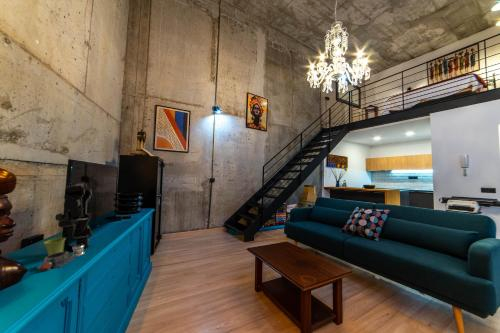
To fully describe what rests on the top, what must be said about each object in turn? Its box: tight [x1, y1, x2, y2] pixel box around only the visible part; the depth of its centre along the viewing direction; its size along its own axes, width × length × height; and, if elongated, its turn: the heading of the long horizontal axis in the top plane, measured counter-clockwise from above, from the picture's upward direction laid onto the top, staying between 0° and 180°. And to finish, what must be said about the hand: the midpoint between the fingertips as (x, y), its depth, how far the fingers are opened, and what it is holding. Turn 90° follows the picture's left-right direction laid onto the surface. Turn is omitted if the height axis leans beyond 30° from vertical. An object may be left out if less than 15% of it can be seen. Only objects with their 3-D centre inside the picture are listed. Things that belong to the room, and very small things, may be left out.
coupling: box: [72, 244, 86, 258], centre depth 114 cm, size 5×5×5 cm
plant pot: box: [43, 237, 67, 256], centre depth 115 cm, size 9×9×9 cm
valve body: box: [37, 251, 76, 272], centre depth 103 cm, size 14×10×5 cm
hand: (77, 234), depth 113 cm, fingers open, 9 cm apart
